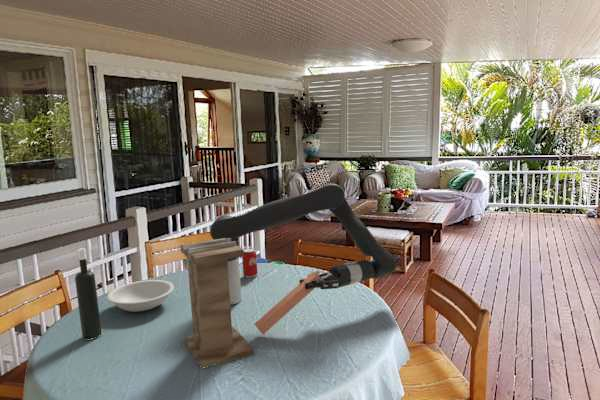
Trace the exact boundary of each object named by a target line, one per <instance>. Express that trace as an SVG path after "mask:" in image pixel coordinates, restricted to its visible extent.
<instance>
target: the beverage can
mask: <svg viewBox="0 0 600 400" xmlns="http://www.w3.org/2000/svg"><path fill="white" fill-rule="evenodd" d="M243 251H244V256H242V257H241V259H242V274H243V276H244V277H245V278H247V279H253V278H255V277H256V276H257V275H258V258H257V252H256V250H255V249H254V248H246V249H243Z"/></svg>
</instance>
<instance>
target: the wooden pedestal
mask: <svg viewBox="0 0 600 400" xmlns="http://www.w3.org/2000/svg"><path fill="white" fill-rule="evenodd" d="M179 246H180V252H181V253H182V254H183V255H184V257H186V261H187V271H188V284H189V296H190V308H191V319H192V329H193V330H192V331H193V336H190V337H186V338H184V344H185V343H186V344H185V346H186V345H187V346H188V347H187V346H186V347H187V349H188V348H189V349H188V350H190V351H191V352H192V354H193V355H194V357H195V358H194V357H193V358H194V360H195V359H196V360H197V361H196V360H195V361H196V363H197V362H198V363H199V364H198V363H197V364H198V366H199V365H200V366H201V367H200V366H199V367H200V369H201V368H203V367H207V366H211V365H214V364H218V363H221V364H224V363H228V362H231V361H235V360H237V359H241V358H244V357H247V356H251V355H254V354H255V349H254V347H253V346H252V345H251V344H250V342H248V341H247V340H246V339H245V338H244V337H243V335H241V333H240V332H239V331H238V330H237V329H236V328H235V327H234V326H233V325H232V324H233V323H232V313H231V305H230V293H229V278H228V264H227V259H232V258H237V257H239V258H242V256H244V251H243V250H244V249H243V248H241V246H239V247H238V246H237V245H236V241H233V242H231V238H227V239H225V238H222V239H215V240H214V239H211V240H210V239H209V240H204V241H198V242H193V243H192V242H191V243H187V244H186V243H185V244H180V245H179ZM190 351H189V352H190ZM191 352H190V353H191ZM192 354H191V355H192ZM193 355H192V356H193ZM227 361H228V362H227ZM223 362H224V363H223ZM218 365H219V364H218ZM214 366H215V365H214ZM211 367H212V366H211ZM207 368H208V367H207Z"/></svg>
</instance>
